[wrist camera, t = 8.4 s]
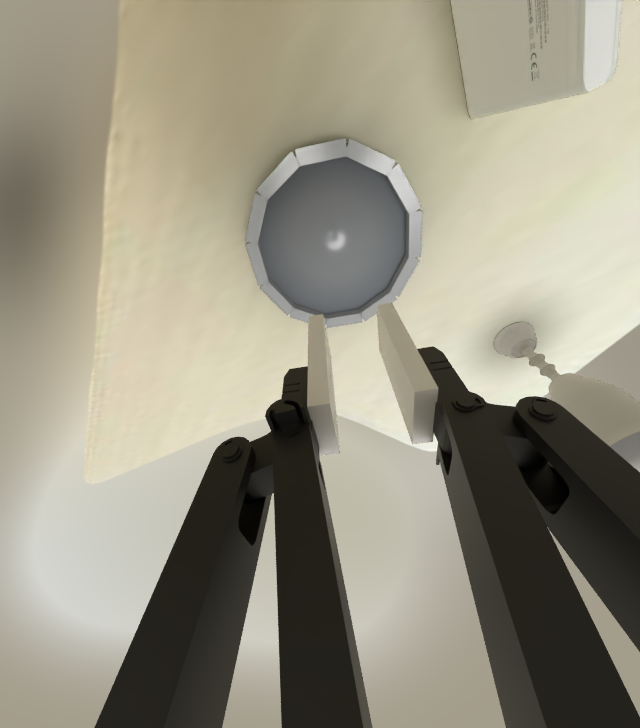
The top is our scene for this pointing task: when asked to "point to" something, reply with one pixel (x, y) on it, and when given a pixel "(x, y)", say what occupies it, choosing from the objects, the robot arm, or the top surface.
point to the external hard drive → (534, 50)
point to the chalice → (582, 395)
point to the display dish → (334, 232)
